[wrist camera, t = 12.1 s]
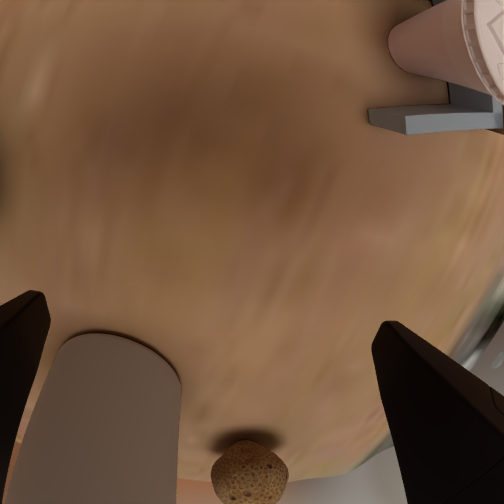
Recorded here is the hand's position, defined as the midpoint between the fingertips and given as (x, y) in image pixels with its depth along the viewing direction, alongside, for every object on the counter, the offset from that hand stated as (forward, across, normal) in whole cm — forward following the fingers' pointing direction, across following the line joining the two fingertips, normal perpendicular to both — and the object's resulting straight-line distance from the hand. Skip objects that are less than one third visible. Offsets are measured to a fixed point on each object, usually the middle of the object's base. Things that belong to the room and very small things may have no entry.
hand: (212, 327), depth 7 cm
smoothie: (+14, -11, -11) cm, 21 cm away
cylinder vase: (+13, +8, +19) cm, 25 cm away
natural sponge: (+13, -6, +31) cm, 34 cm away
